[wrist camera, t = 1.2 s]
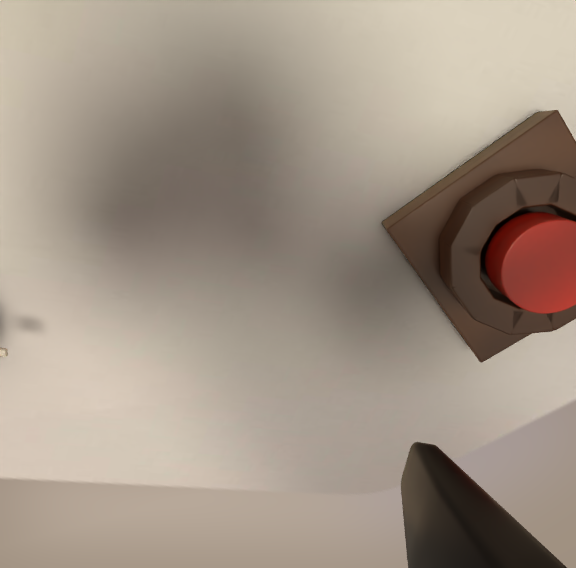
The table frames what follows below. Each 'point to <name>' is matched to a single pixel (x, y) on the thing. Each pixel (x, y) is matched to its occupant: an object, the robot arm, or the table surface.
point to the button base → (489, 228)
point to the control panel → (3, 352)
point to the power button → (535, 262)
